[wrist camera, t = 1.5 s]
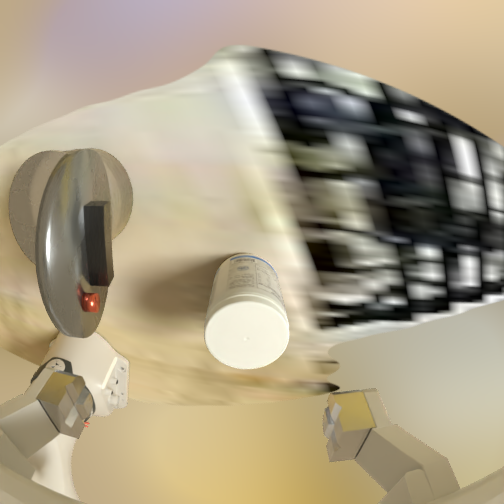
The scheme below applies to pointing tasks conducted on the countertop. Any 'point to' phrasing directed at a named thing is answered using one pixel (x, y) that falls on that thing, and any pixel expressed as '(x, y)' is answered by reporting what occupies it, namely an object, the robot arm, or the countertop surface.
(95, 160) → the cooker lid
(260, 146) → the countertop surface
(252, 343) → the supplement tub
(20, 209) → the cooker pot
